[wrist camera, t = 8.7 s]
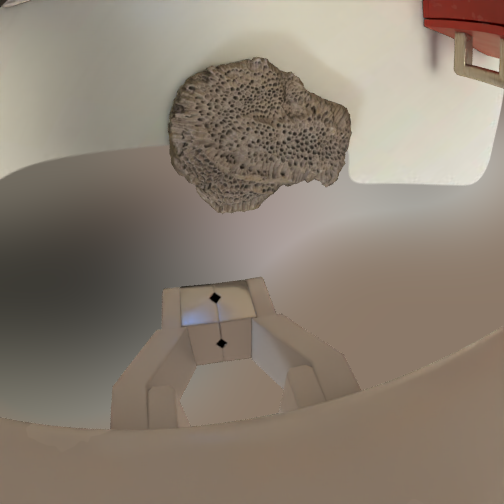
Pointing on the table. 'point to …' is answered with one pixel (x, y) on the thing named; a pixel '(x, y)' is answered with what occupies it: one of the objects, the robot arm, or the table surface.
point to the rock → (253, 134)
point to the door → (478, 37)
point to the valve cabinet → (465, 11)
